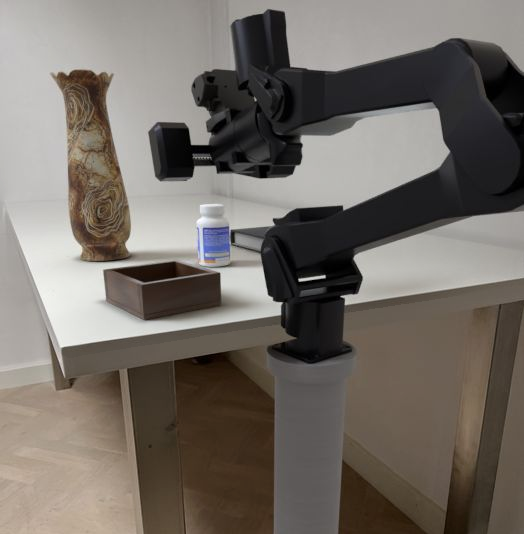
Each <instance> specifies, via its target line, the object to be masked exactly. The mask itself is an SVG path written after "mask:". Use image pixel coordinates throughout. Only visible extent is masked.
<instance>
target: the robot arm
mask: <svg viewBox="0 0 524 534" xmlns="http://www.w3.org/2000/svg"><path fill="white" fill-rule="evenodd" d="M286 18H287V17H286V12H285V11H284V10H280V9H279V10H278V9H273V8H272V9H271V8H267V9H266V10H265V11H264V12H263V13H256V14H252V15H247V16H245V17H243V18H239V19H238V18H237V19H235V20H234V21H232V22H231V24H230V25H229V34H230V42H231V49H232V55H233V63H234V70H233V69H223V68H222V69H221V68H214V69H212V70H211V71H209V70H204V71H203V73H200V74H198V75H197V76H196V77H195V78H194V80H193V81H192V83H191V88H190V89H191V94H192V97H193V100H194V104H195V106H196V107H197V108H205V109H206V111H207V112H208V114H209V116H210V118H208V119H207V120H206V121H205V126H206V132H207V133H210V137H209V141H208V144H192V140H191V133H190V128H189V126H188V125H187V124H186V123H185V122H176V121H175V122H173V121H157V122H155V124H153V125H152V127H150V129H149V130H148V131H147V134H148V141H149V147H150V154H151V159H152V165H153V166H152V167H153V171H154V177H155V179H157V180H158V181H159V182H187V181H189V180H191V179H192V178H193V177H194V173H195V168H206V167H207V168H208V167H215V171H216V174H217V175H226V174H227V175H230V174H231V175H232V174H235V175H239V176H244V177H250V178H254V179H259V180H260V179H261V180H263V179H264V180H265V179H284V178H285V179H286V178H287V177H290V176H293V175H294V173H295V172H296V169H297V167H298V166H301V164H302V160H303V158H304V157H303V156H304V155H303V148H304V144H303V142H302V136H307V137H308V136H313V137H314V136H316V137H331V136H335V135H337V134H339V133H341V132H344V131H348V130H349V129H351V128H353V127H354V125H355V124H356V123H357V122H359V121H362V120H364V119H366V118H373V117H380V116H389V115H394V114H395V115H396V114H401V113H403V114H404V113H411V112H417V111H418V112H419V111H424V110H425V111H426V110H432V109H437V111H438V115H439V123H440V128H441V134H442V140H443V143H444V145H445V146H446V147H447V149H448V151H449V152H448V154H447V155H446V156H445V158H444V160H443V161H442V163H441V164H440V165H439V166H438V167H436V169H434V170H432V171H430V172H428V173H426V174H423V175H421V176H418V177H416V178H413V179H411V180H410V181H407V182H404V183H402V184H400V185H398V186H396V187H393V188H391V189H389V190H386V191H385V192H382V193H380V194H377V195H375V196H373V197H371V198H368V199H367V200H364V201H362V202H359V203H357V204H355V205H352V206H350V207H348V208H346V209H344V205H343V204H342V205H341V204H338V205H326V206H310V207H297V208H294V209H292V210H290V211H289V212H287V213H286V214H285V215H284V216H282V217H273V218H272V223H273V224H274V225H270V226H271V227H270V228H269V229H268V230H267V232H266V234H265V237H266V238H265V239H264V240H263V242H262V245H261V251H260V252H259V253H260V254H259V255H260V260H261V263H262V270H263V276H264V281H265V282H264V283H265V286H266V292H267V296H268V297H270V298H272V302H275V303H281V305H280V327H281V328H282V329H285V330H284V331H285V334H286V335H288V336H290V337H292V339H289V340H286V341H281V342H277V343H274V344H270V345H271V348H272V349H274V350H276V351H278V352H281V353H283V354H286V355H288V356H290V357H293V358H295V359H297V360H300V361H302V362H305V363H307V364H314V363H317V362H320V361H324V360H327V359H330V358H333V357H337V356H340V355H343V354H346V353H350V352H352V351H353V347H352V346H349V345H346V344H343V341H344V327H345V307H346V298H345V296H350V295H353V296H354V295H358V294H359V293H360V289H361V286H362V284H363V280H364V276H363V274H362V272H361V270H360V268H359V267H358V264H357V263H356V261H355V259H354V258H355V256H356V255H358V254H361V253H363V252H366V251H369V250H372V249H375V248H380V247H382V246H385V245H388V244H392V243H394V242H395V243H396V242H398V241H401V240H404V239H407V238H410V237H412V236H417V235H421V234H423V233H425V232H428V231H429V232H430V231H431V230H436V229H438V228H441V227H445V226H448V225H451V224H454V223H457V222H460V221H463V220H466V219H470V218H473V217H478V216H489V215H499V214H508V213H518V212H524V71H523V70H522V69H520V67H519V66H518V65H517V64H516V62H515V61H514V60H513V59H512V58H511V57H510V55H509V54H508V53H507V52H505V51H504V50H503V47H502V46H500V45H498V44H496V43H494V42H489V41H483V40H476V39H469V38H461V37H451V38H448V39H446V40H445V41H444V40H443V41H442V42H440V43H438V44H435V46H431V47H427V48H424V49H419V50H415V51H412V52H408V53H404V54H399V55H396V56H391V57H388V58H383V59H379V60H376V61H372V62H368V63H364V64H360V65H356V66H355V65H354V66H351V67H348V68H344V69H340V70H337V71H333V70H322V69H321V70H319V69H308V68H307V67H298V66H297V67H296V66H291V61H290V53H289V45H288V44H289V43H288V37H287V19H286ZM323 276H325V277H323ZM316 277H322V278H316ZM309 278H315V279H309ZM303 279H308V280H303Z"/></svg>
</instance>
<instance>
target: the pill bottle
mask: <svg viewBox="0 0 524 534" xmlns="http://www.w3.org/2000/svg"><path fill="white" fill-rule="evenodd" d="M199 214H200V215H201V217H200V218H198V219H197V220H196V239H197V240H196V241H197V259H198V264H199V266H201V267H207V268H208V267H209V268H214V267H215V268H217V267H226V266H228V265H230V264H231V242H230V220H229V219H228V218H227V217H225V216H224V214H225V205H224V204H222V203H205V204H200V205H199Z"/></svg>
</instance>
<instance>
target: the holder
mask: <svg viewBox="0 0 524 534" xmlns="http://www.w3.org/2000/svg"><path fill="white" fill-rule="evenodd" d="M102 273H103V282H104V283H103V284H104V290H105V291H104V292H105V293H104V294H105V302H106V303H108V304H111V305H113V306H115V307H117V308H119V309H121V310H123V311H125V312H127V313H129V314H131V315H133V316H135V317H136V318H139V319H140V320H144V321H146V320H151V319H157V318H161V317H162V318H163V317H167V316H172V315H176V314H181V313H187V312H192V311H197V310H203V309H207V308H212V307H213V308H214V307H218V306H222V282H221V281H222V280H221V279H222V277H221V272H220V271H217V270H213V269H209V268H206V267H204V266H200V265H196V264H194V263H193V264H192V263H189V262H186V261H182V260H178V259H172V260H166V261H157V262H149V263H142V264H135V265H128V266H120V267H114V268H113V267H112V268H106V269H103V270H102Z"/></svg>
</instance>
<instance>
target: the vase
mask: <svg viewBox="0 0 524 534" xmlns="http://www.w3.org/2000/svg"><path fill="white" fill-rule="evenodd" d="M49 74H50V76H51V78H52V79H53V81H54V82H55V84H56V85H57V87H58V88H59V90H60V92H61V94H62V97H63V102H64V103H63V104H64V110H65V120H66V121H65V123H66V145H67V194H68V195H67V200H68V201H67V202H68V203H67V205H68V215H69V223H70V229H71V232H72V236H73V238H74V240H75V241H76V243H77V244H78V245H80V246H81V253H80V257H79V259H80V260H81V261H86V262H87V261H88V262H106V261H115V260H121V259H125V258H129V257H131V253H130V251H129V249H128V248H127V246H126V244H127V242H128V241H129V239H130V237H131V233H132V232H131V231H132V221H131V211H130V205H129V200H128V196H127V192H126V187H125V183H124V179H123V175H122V170H121V168H120V162H119V158H118V154H117V151H116V146H115V141H114V137H113V133H112V127H111V122H110V118H109V112H108V111H109V110H108V106H107V95H108V91H109V89H110V86H111V82H112V80H113V78H114V76H115V74H114V72H110V73H108V72H107V71H105V70H104V71H100V72H99V73H96V72H94V71H93V70H92V69H87V68H73V69H70V71H69V73H66V72H65V71H63V70H59V71H57V74H56V73H55V72H53V71H49Z"/></svg>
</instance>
